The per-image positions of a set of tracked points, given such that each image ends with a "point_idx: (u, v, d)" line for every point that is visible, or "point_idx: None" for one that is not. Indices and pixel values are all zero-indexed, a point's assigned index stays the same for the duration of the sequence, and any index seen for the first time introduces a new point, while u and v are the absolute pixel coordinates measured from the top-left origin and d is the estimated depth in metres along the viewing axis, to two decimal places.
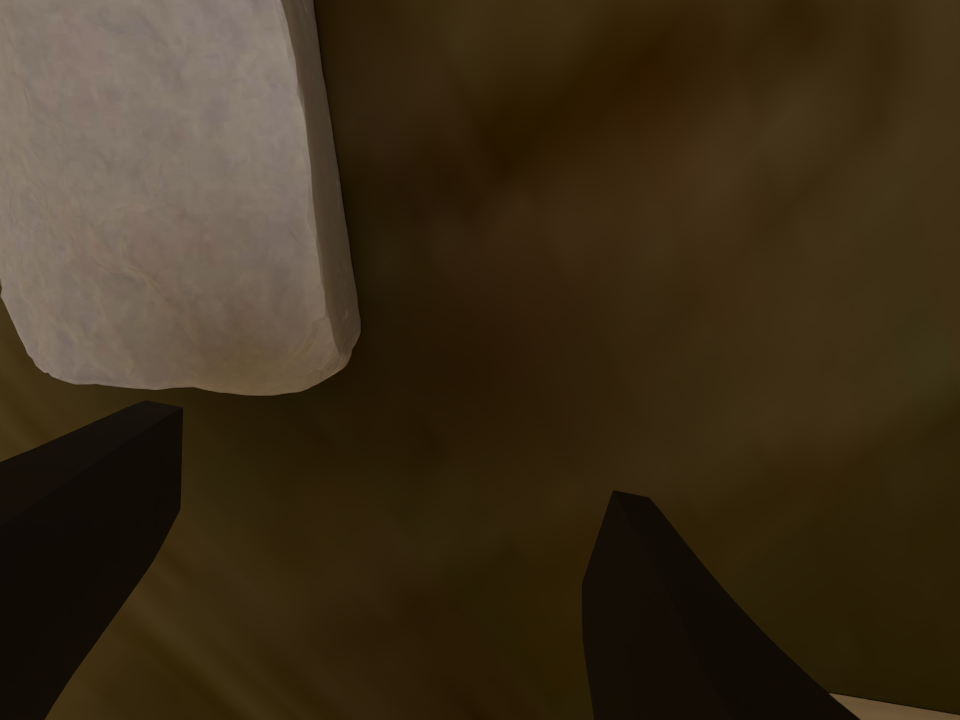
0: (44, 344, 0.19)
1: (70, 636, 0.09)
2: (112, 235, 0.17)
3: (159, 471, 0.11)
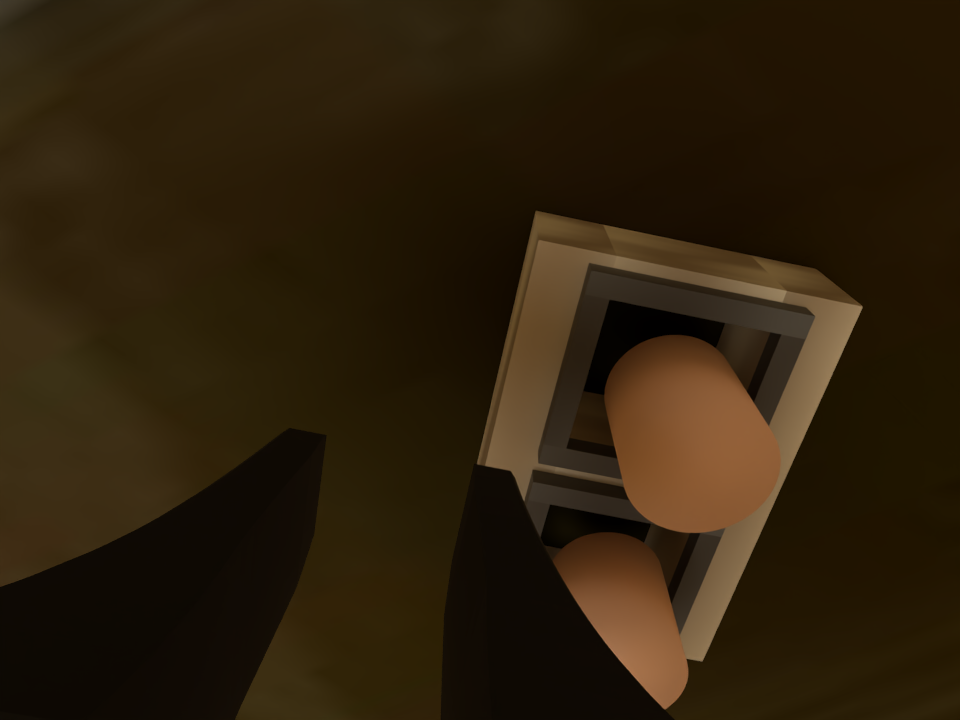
0: None
1: (244, 667, 0.10)
2: None
3: (309, 499, 0.11)
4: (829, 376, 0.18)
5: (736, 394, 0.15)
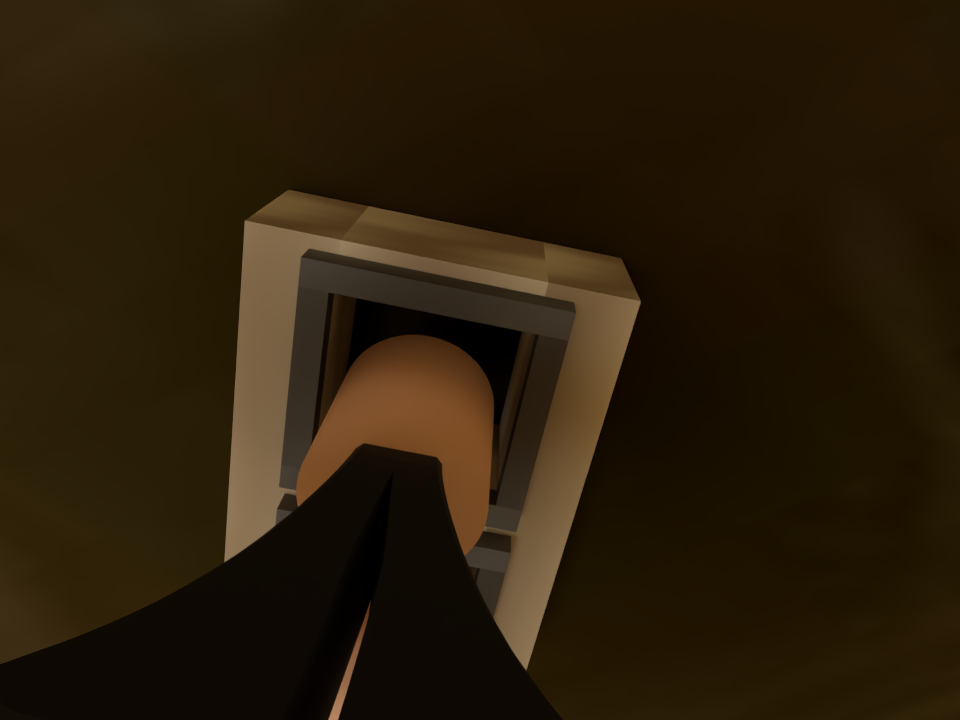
0: None
1: (334, 683, 0.10)
2: None
3: (386, 514, 0.11)
4: (612, 384, 0.15)
5: (434, 408, 0.12)
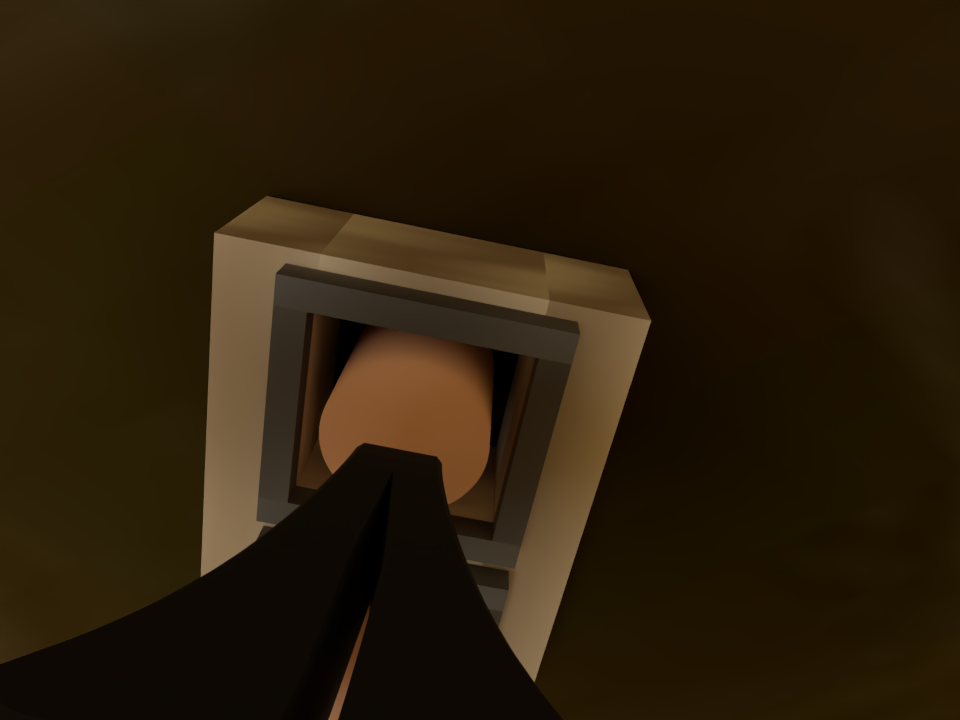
0: None
1: (334, 683, 0.10)
2: None
3: (386, 514, 0.11)
4: (619, 410, 0.14)
5: (441, 358, 0.13)
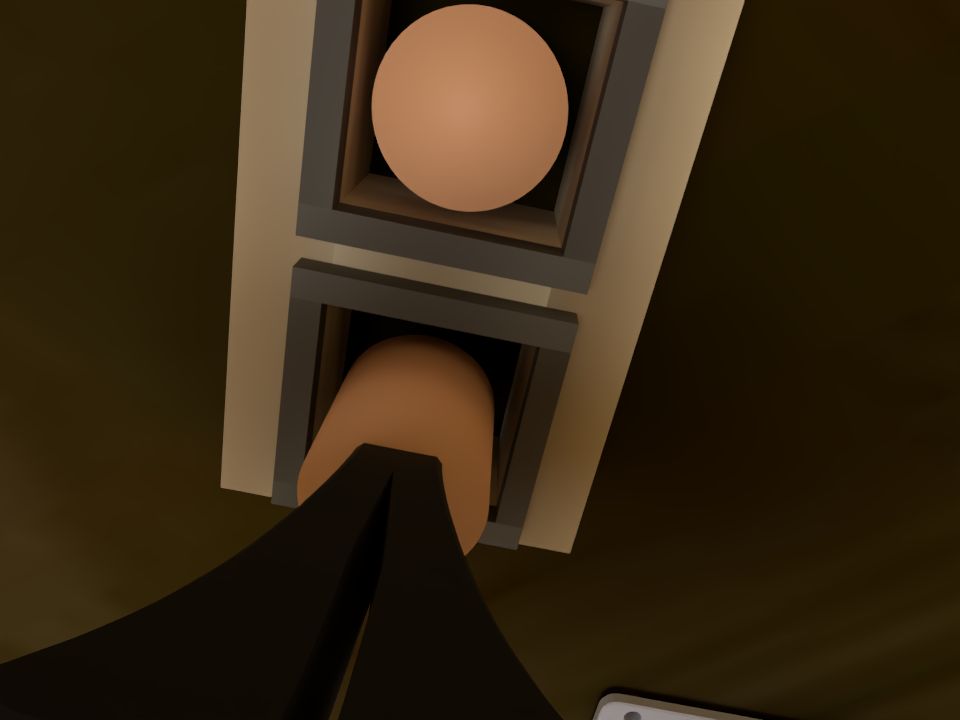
0: None
1: (334, 683, 0.10)
2: None
3: (386, 514, 0.11)
4: (712, 91, 0.12)
5: None
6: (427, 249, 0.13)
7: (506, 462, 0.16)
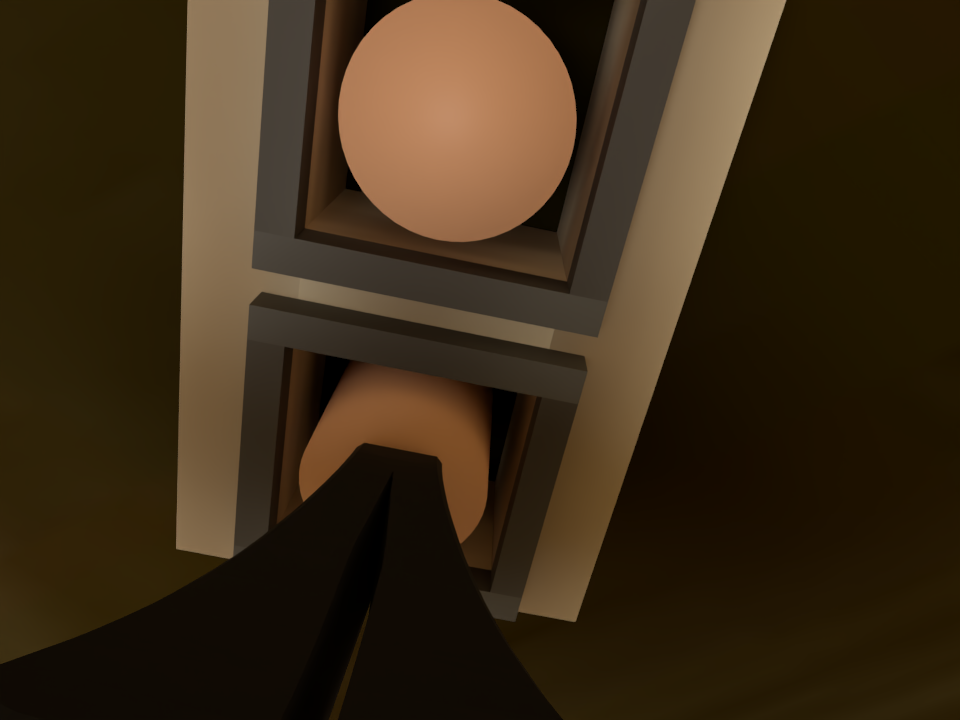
0: None
1: (334, 683, 0.10)
2: None
3: (386, 514, 0.11)
4: (749, 97, 0.10)
5: None
6: (408, 284, 0.11)
7: (502, 521, 0.14)
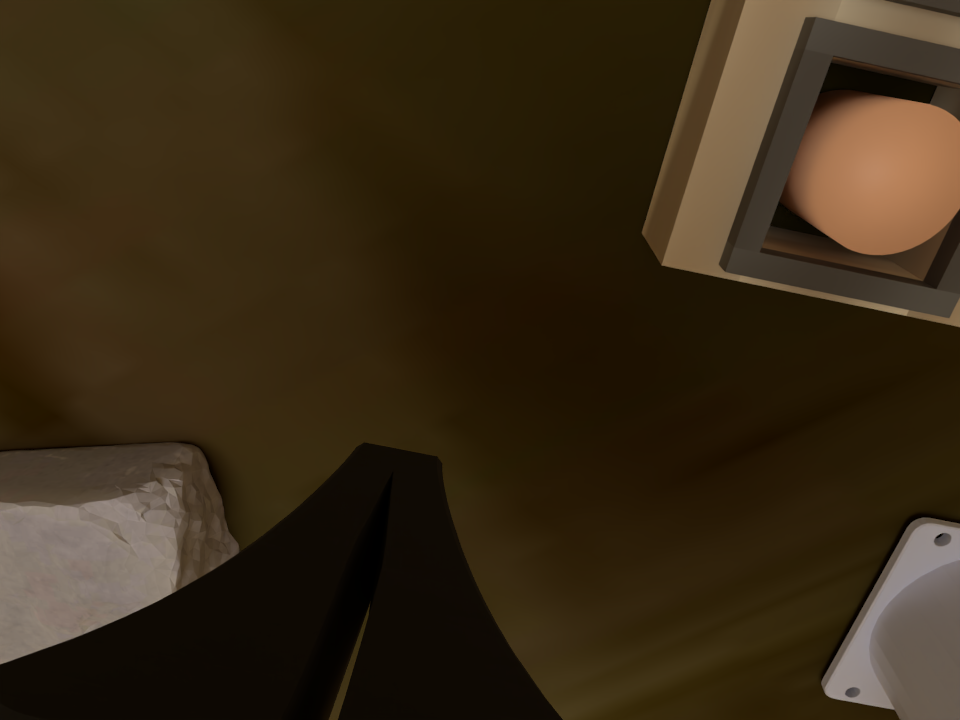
0: None
1: (334, 683, 0.10)
2: (60, 634, 0.23)
3: (386, 514, 0.11)
4: None
5: None
6: None
7: (940, 236, 0.17)
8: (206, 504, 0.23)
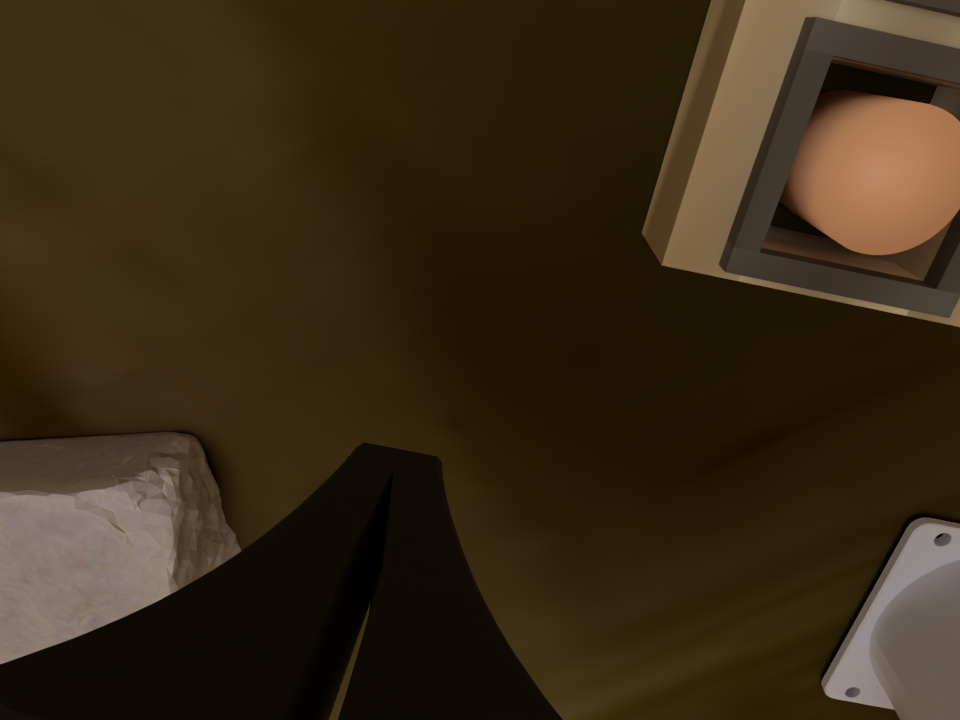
0: None
1: (334, 683, 0.10)
2: (56, 625, 0.23)
3: (386, 514, 0.11)
4: None
5: None
6: None
7: (940, 236, 0.17)
8: (204, 494, 0.23)
